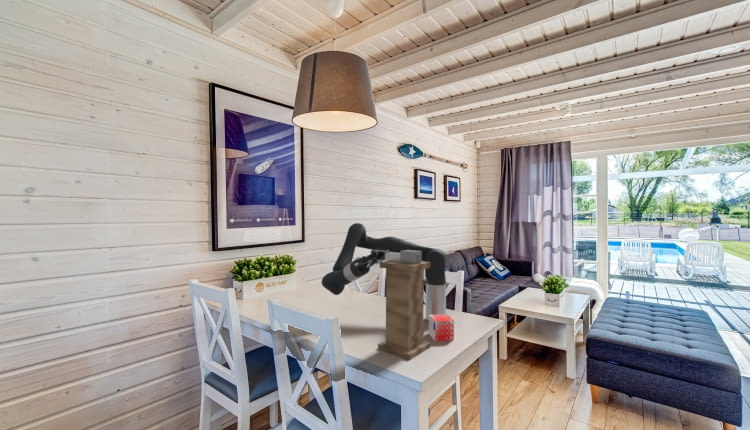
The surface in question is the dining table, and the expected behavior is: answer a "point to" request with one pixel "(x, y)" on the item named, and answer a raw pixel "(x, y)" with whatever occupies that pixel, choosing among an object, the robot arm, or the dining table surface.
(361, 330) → the dining table surface
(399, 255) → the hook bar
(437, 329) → the puzzle cube
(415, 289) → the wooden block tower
